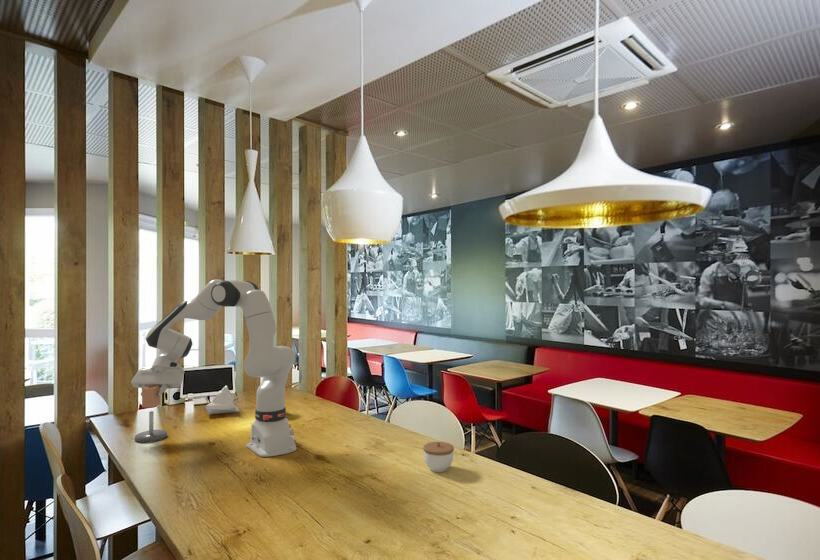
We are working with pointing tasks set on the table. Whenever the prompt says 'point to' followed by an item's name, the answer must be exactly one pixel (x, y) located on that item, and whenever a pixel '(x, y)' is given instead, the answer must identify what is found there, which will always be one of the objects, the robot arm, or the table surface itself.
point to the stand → (151, 432)
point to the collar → (150, 397)
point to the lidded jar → (438, 455)
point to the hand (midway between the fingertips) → (150, 395)
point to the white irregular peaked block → (222, 403)
